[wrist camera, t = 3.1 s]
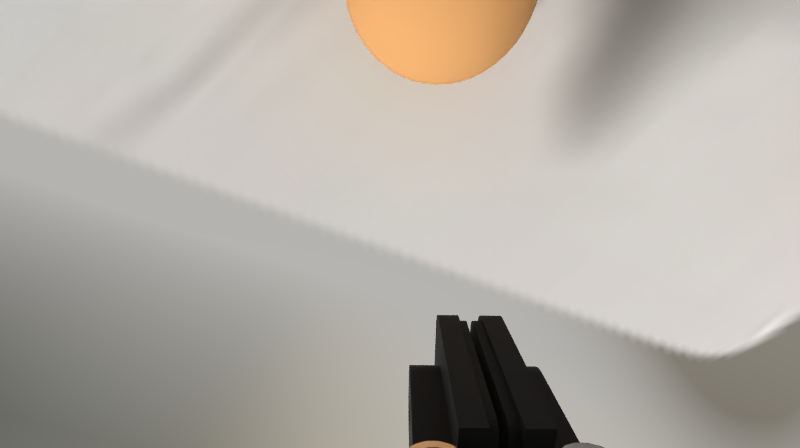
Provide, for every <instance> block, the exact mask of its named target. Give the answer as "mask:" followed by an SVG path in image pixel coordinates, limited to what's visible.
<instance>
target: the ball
mask: <svg viewBox="0 0 800 448" xmlns="http://www.w3.org/2000/svg"><path fill="white" fill-rule="evenodd" d="M346 3H347V8H348V11H349V14H350V17H351V20H352V23H353V25H354V27H355V29H356V32H357V34H358V35H359V37H360V39H361V40H362V42H363V43H364V45H365V46H366V47H367V49H368V50H369V51H370V52H371V54H372V55H373V56H374V57H375V58H376V59H377V60H378V61H379V62H381V63H382V64H383V65H384V66H386V67H387V68H388V69H390V70H391V71H392V72H394V73H396V74H398V75H400V76H402V77H404V78H407V79H409V80H412V81H416V82H420V83H425V84H450V83H456V82H461V81H464V80H466V79H469V78H472V77H474V76H476V75H478V74H480V73H482V72H484V71H485V70H487V69H488V68H490V67H491V66H493V65H494V64H495V63H497V62H498V61H499V60H500V59H501V58H502V57H503V56H505V55H506V54H507V53H508V51H509V50H510V49H511V48H512V47H513V46H514V45H515V43H516V42H517V40H518V39H519V38H520V36H521V35H522V33H523V31H524V29H525V28H526V26H527V24H528V22H529V20H530V18H531V16H532V13H533V11H534V8H535V6H536V3H537V0H346Z"/></svg>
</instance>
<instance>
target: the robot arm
mask: <svg viewBox="0 0 800 448" xmlns="http://www.w3.org/2000/svg"><path fill="white" fill-rule="evenodd" d="M409 448H603V447H602V446H599V445H594V444H590V443H580V442H579V441H578V439H577V437H576V435H575V433H574V431H573V430H572V428H571V426H570V424H569V422H568V420H567V418H566V417H565V415H564V413H563V411H562V409H561V407H560V406H559V404H558V402H557V400H556V398H555V396H554V395H553V393H552V391H551V389H550V387H549V385H548V384H547V382H546V380H545V378H544V376H543V375H542V373H541V371H540V370H539V368H537V367H526V365H525V363H524V361H523V359H522V357H521V355H520V353H519V351H518V349H517V347H516V345H515V343H514V341H513V339H512V337H511V335H510V333H509V331H508V329H507V327H506V325H505V323H504V321H503V319H502V317H501V316H479V318H478V321H472V322H471V331H469V328H468V325H467V322H466V321H460V320H459V317H458V315H437V320H436V344H435V365H430V366H429V365H410V367H409Z"/></svg>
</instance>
